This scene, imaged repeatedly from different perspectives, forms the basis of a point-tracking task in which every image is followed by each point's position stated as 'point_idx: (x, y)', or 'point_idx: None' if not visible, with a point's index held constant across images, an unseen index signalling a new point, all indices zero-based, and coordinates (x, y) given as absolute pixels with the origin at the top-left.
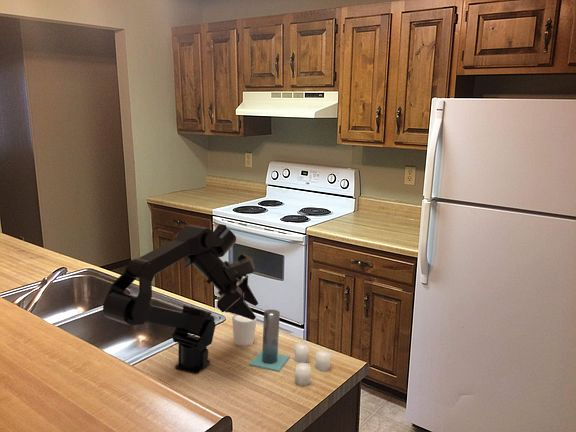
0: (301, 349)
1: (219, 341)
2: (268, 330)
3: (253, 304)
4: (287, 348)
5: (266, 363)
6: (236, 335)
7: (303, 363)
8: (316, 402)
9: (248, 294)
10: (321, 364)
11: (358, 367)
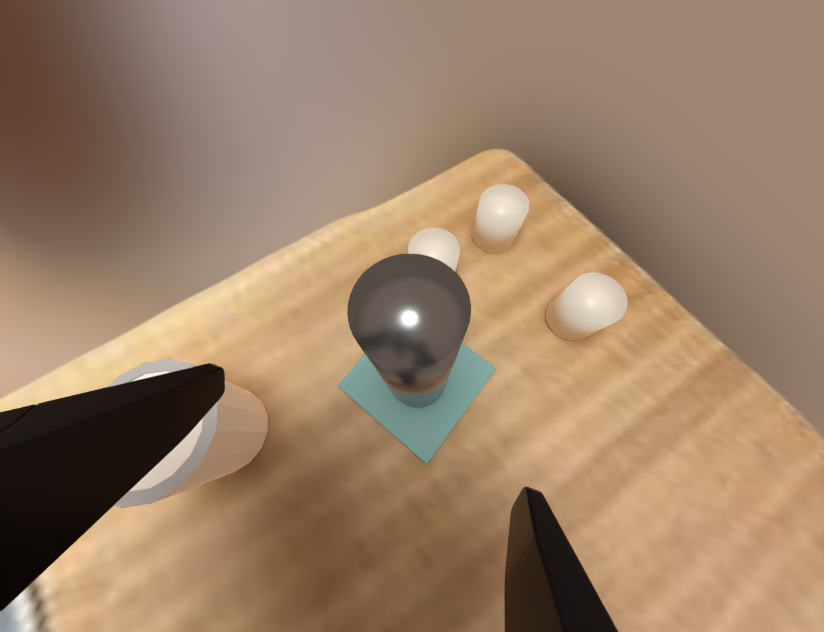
0: (457, 259)
1: (181, 542)
2: (449, 369)
3: (206, 408)
4: (345, 291)
5: (439, 397)
6: (219, 475)
7: (576, 288)
8: (690, 319)
9: (72, 463)
10: (517, 233)
11: (510, 155)
